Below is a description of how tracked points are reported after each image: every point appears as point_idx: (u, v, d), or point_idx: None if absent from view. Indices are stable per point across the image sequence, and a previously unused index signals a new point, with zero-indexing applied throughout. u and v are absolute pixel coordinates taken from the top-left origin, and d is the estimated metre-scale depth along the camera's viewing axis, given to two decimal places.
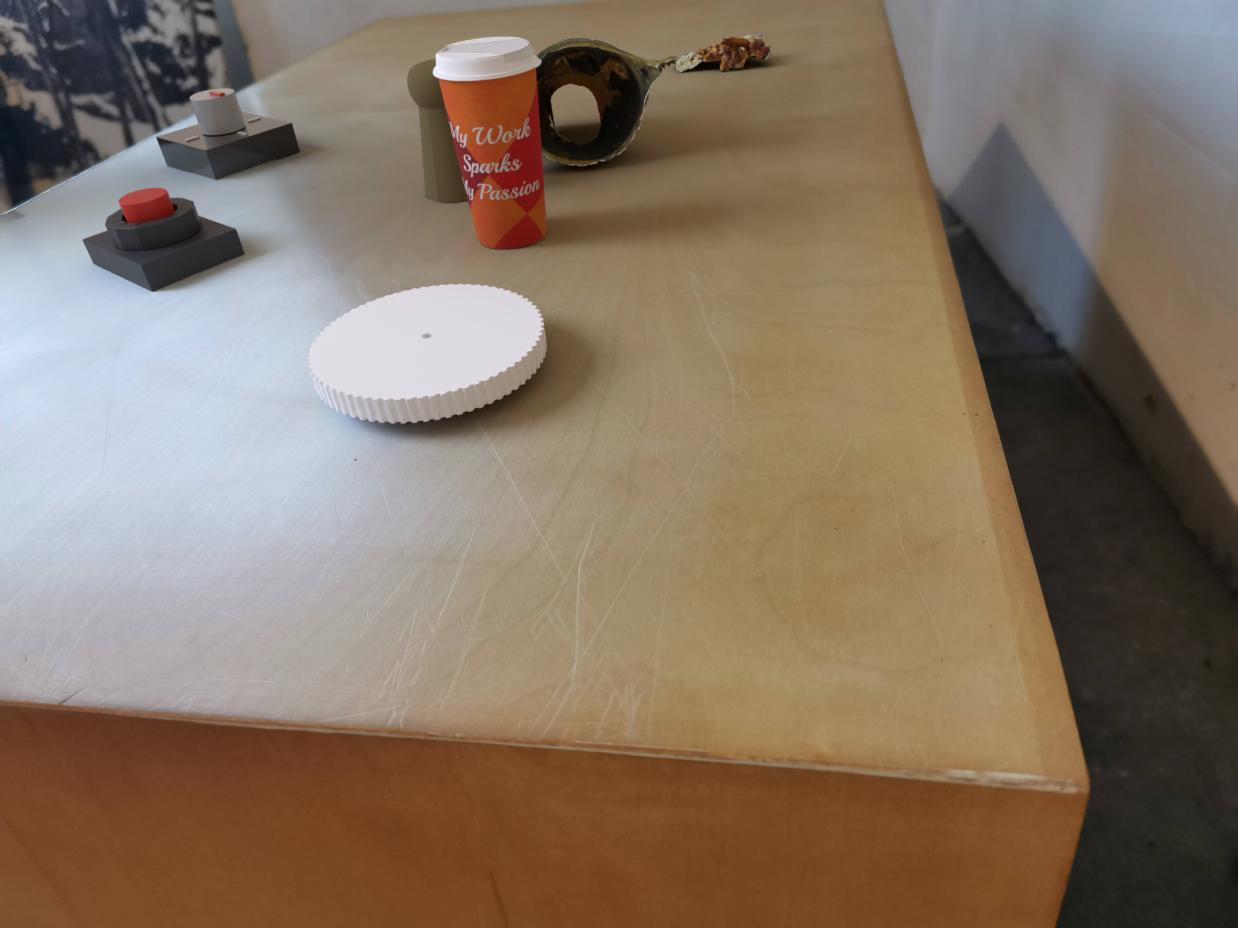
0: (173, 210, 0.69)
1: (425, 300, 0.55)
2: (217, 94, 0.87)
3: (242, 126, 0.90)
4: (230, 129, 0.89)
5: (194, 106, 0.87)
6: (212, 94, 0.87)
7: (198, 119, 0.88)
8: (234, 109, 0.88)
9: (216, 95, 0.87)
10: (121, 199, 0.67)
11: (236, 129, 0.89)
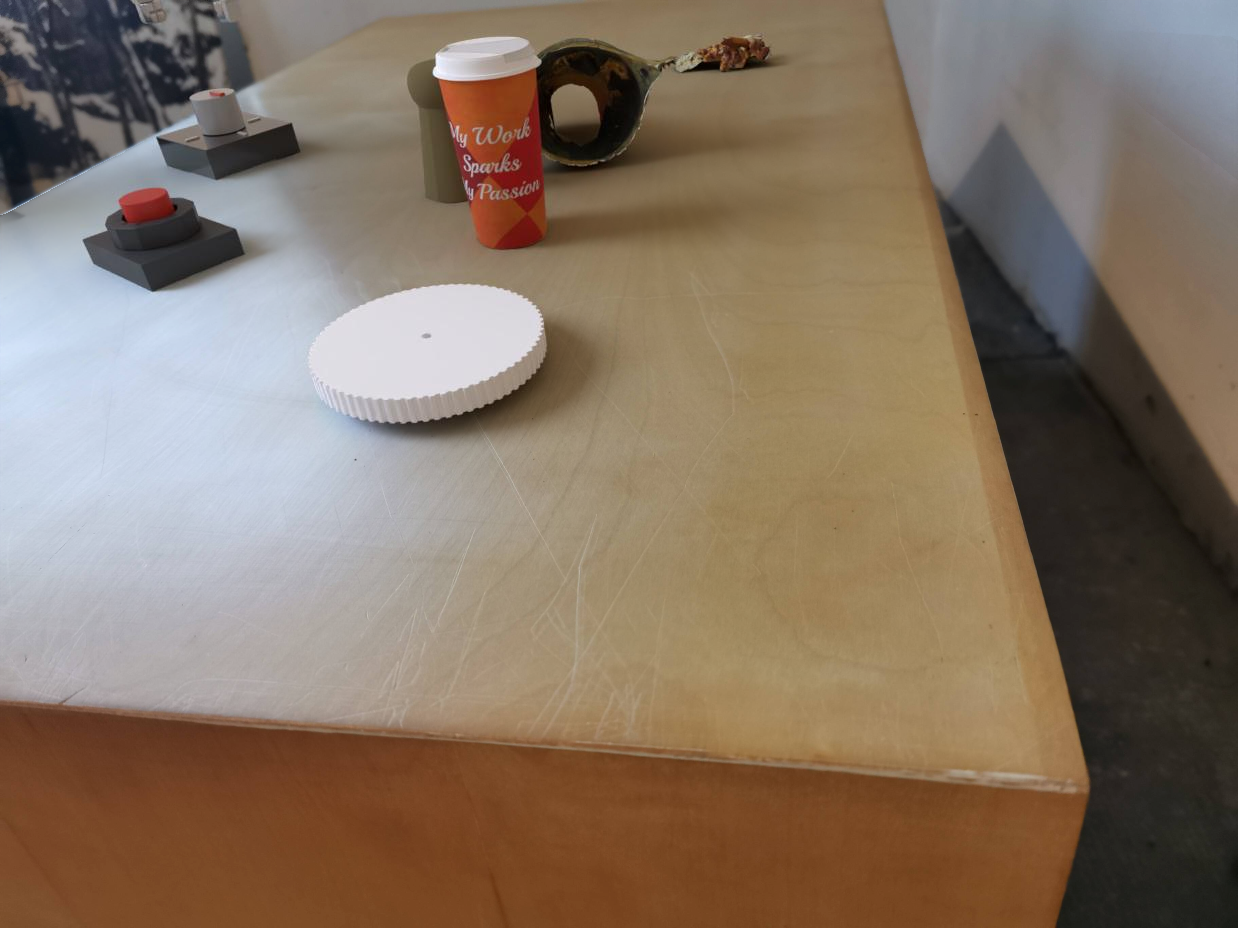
0: (173, 210, 0.69)
1: (425, 300, 0.55)
2: (217, 94, 0.87)
3: (242, 126, 0.90)
4: (230, 129, 0.89)
5: (194, 106, 0.87)
6: (212, 94, 0.87)
7: (198, 119, 0.88)
8: (234, 109, 0.88)
9: (216, 95, 0.87)
10: (121, 199, 0.67)
11: (236, 129, 0.89)
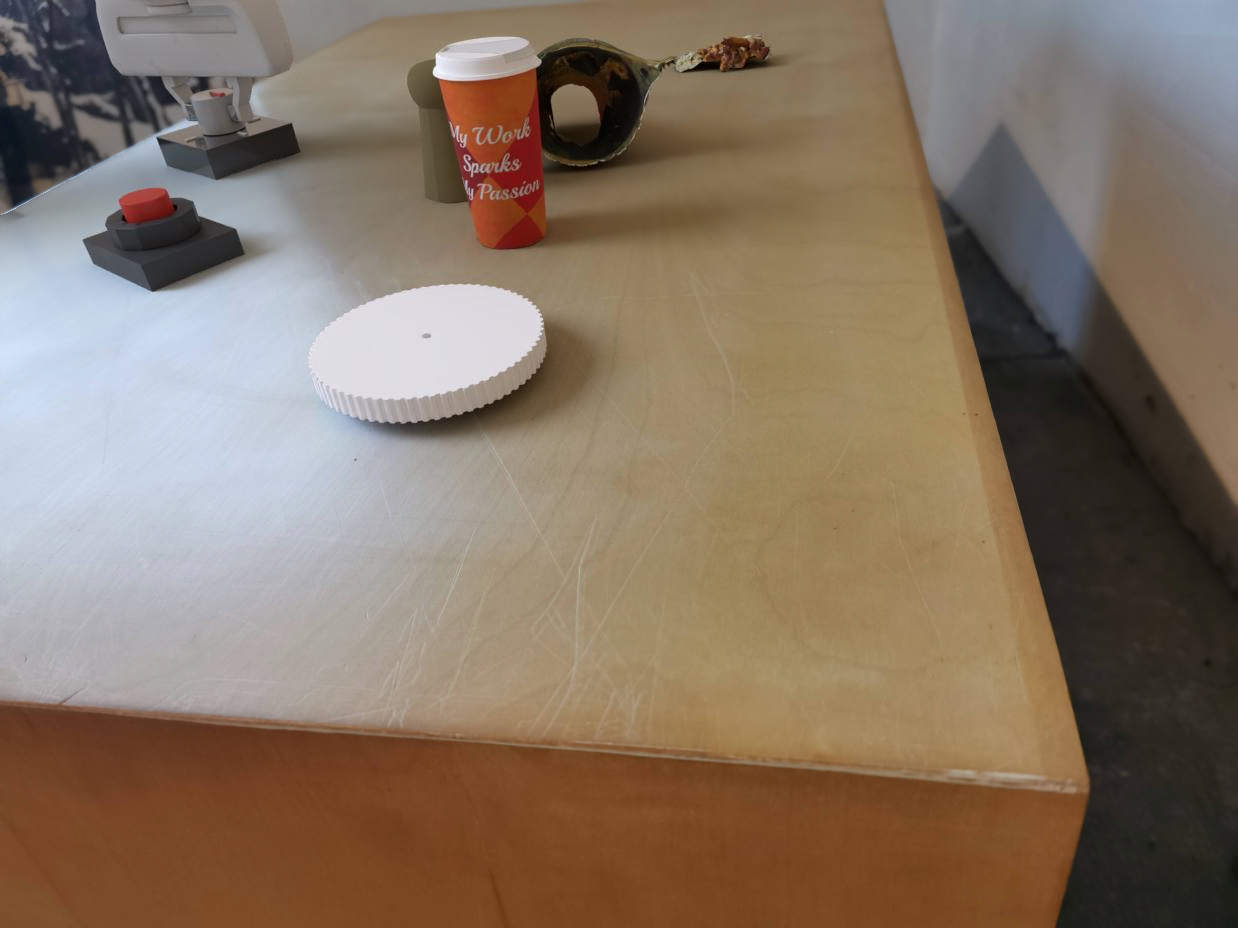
0: (173, 210, 0.69)
1: (425, 300, 0.55)
2: (217, 94, 0.87)
3: (242, 126, 0.90)
4: (230, 129, 0.89)
5: (194, 106, 0.87)
6: (212, 94, 0.87)
7: (198, 119, 0.88)
8: None
9: (216, 95, 0.87)
10: (121, 199, 0.67)
11: (236, 129, 0.89)
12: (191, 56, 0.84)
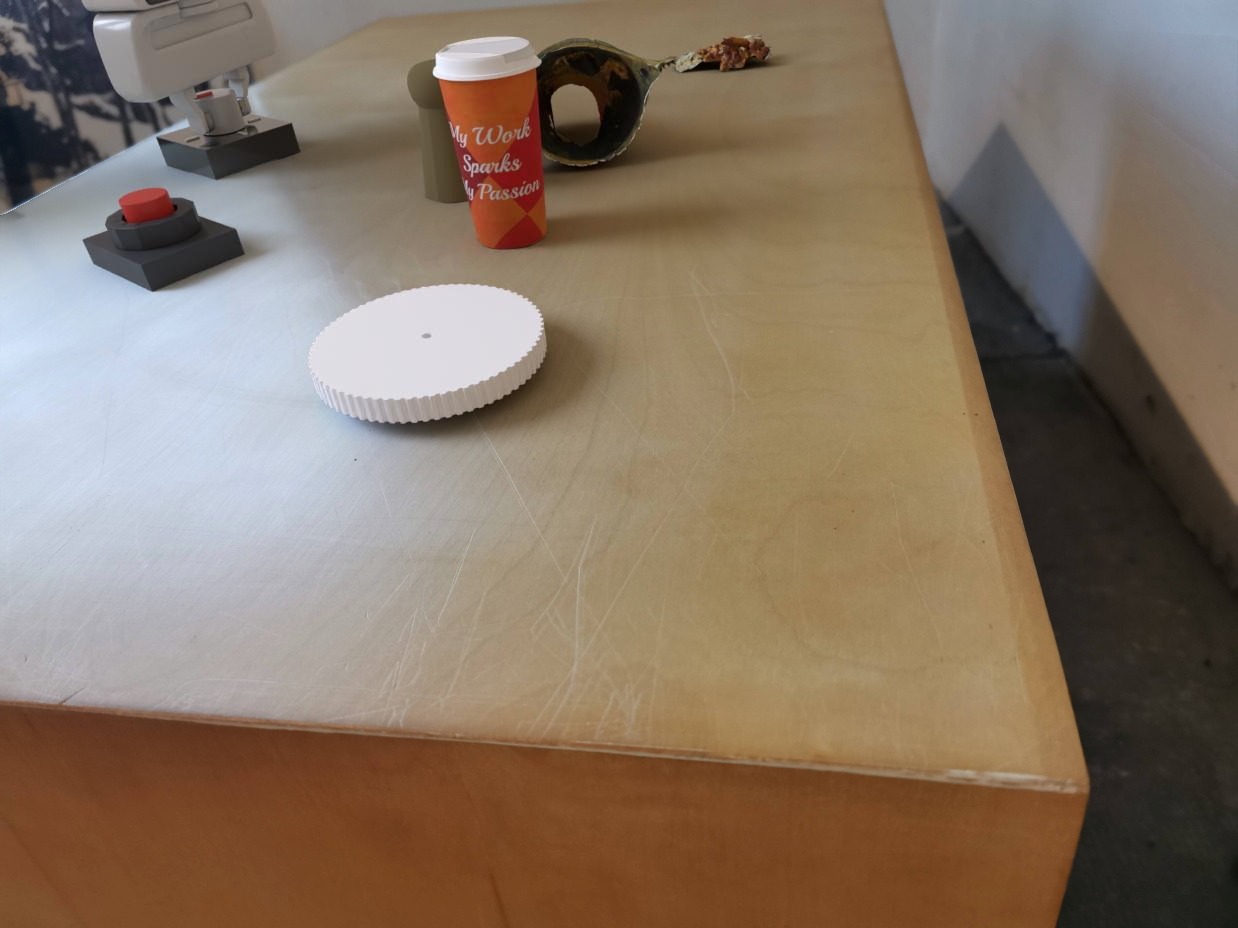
0: (173, 210, 0.69)
1: (425, 300, 0.55)
2: None
3: (212, 133, 0.88)
4: None
5: None
6: None
7: None
8: None
9: (197, 97, 0.87)
10: (121, 199, 0.67)
11: None
12: None
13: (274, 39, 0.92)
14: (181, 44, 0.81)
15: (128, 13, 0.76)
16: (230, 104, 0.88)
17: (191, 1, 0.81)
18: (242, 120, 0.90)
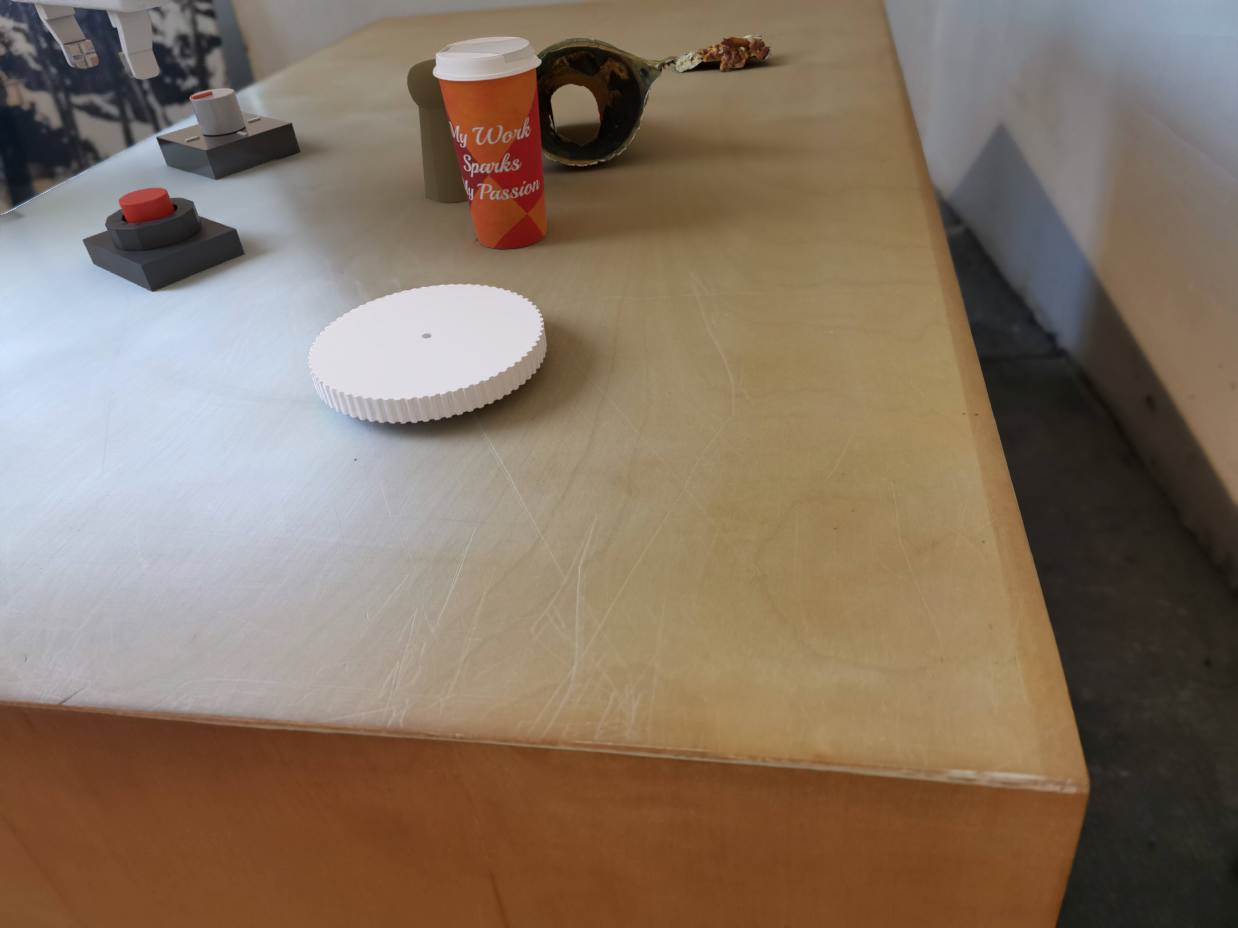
0: (173, 210, 0.69)
1: (425, 300, 0.55)
2: (193, 95, 0.87)
3: (212, 133, 0.88)
4: (201, 131, 0.89)
5: None
6: None
7: None
8: (202, 115, 0.87)
9: None
10: (121, 199, 0.67)
11: (205, 133, 0.89)
12: None
13: None
14: None
15: None
16: (230, 104, 0.88)
17: None
18: (242, 120, 0.90)
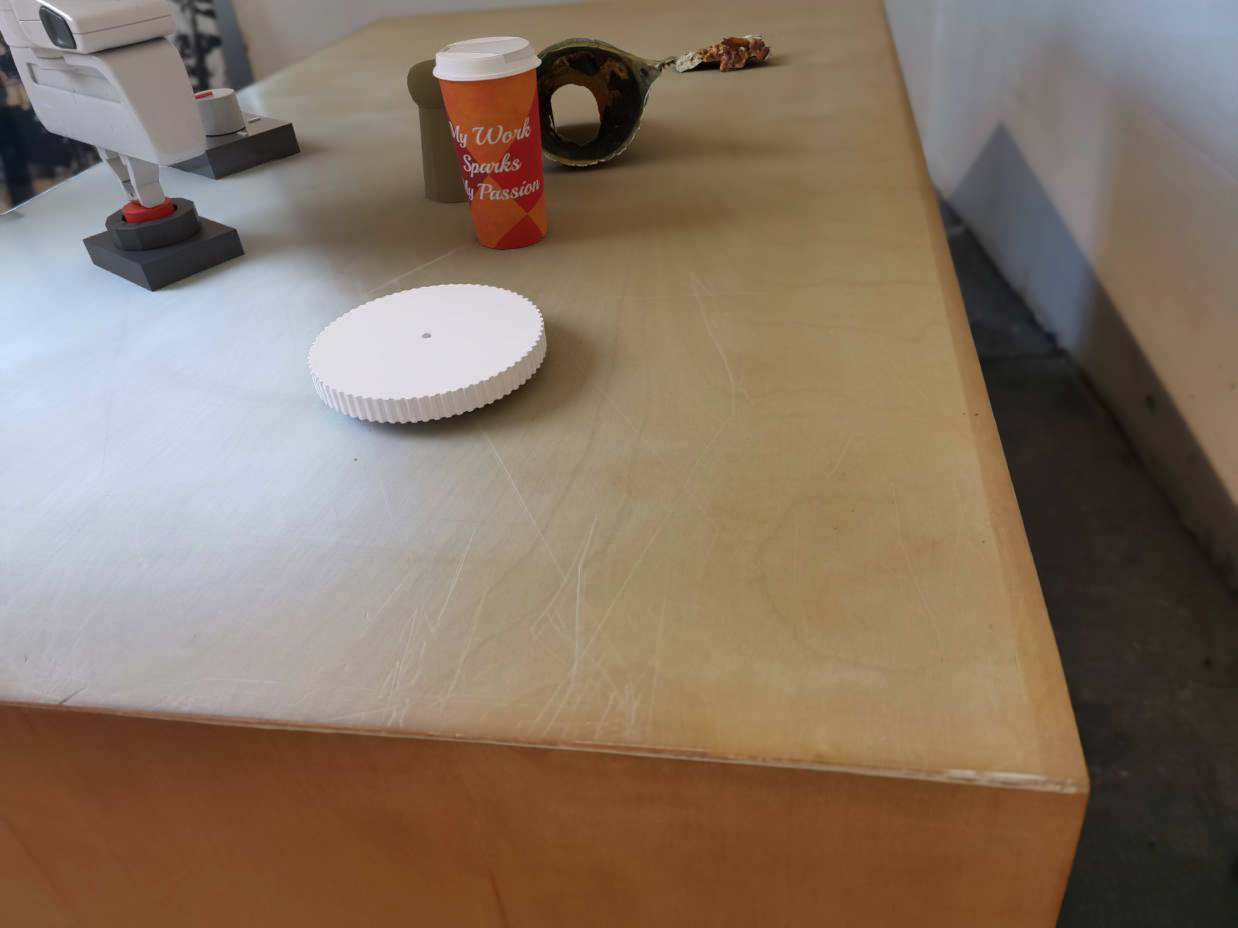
0: None
1: (425, 300, 0.55)
2: None
3: (212, 133, 0.88)
4: None
5: None
6: None
7: None
8: (202, 115, 0.87)
9: None
10: (125, 207, 0.67)
11: None
12: (92, 124, 0.62)
13: None
14: None
15: (153, 41, 0.57)
16: (230, 104, 0.88)
17: None
18: (242, 120, 0.90)
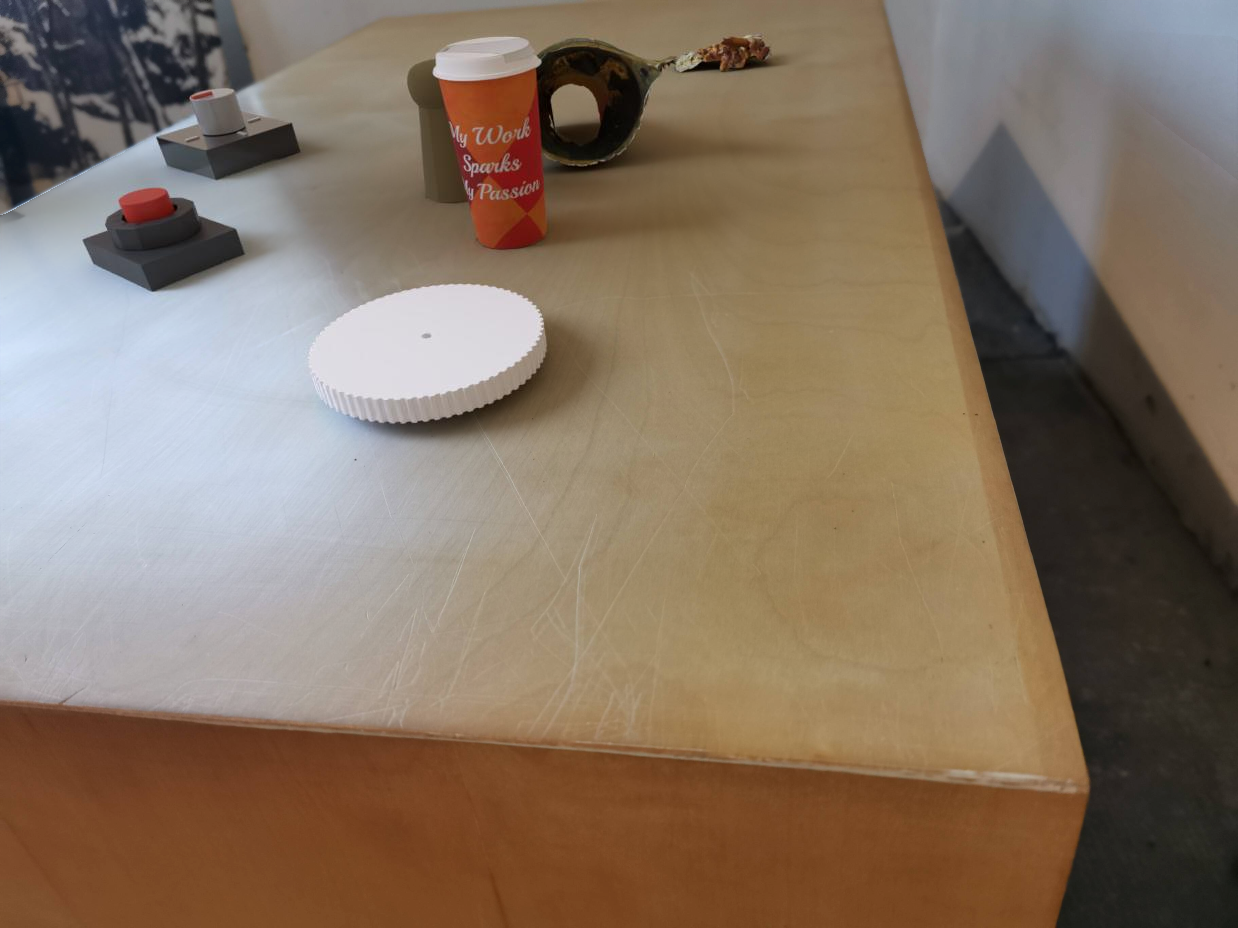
0: (173, 210, 0.69)
1: (425, 300, 0.55)
2: (193, 95, 0.87)
3: (212, 133, 0.88)
4: (201, 131, 0.89)
5: None
6: None
7: None
8: (202, 115, 0.87)
9: None
10: (121, 199, 0.67)
11: (205, 133, 0.89)
12: None
13: None
14: None
15: None
16: (230, 104, 0.88)
17: None
18: (242, 120, 0.90)
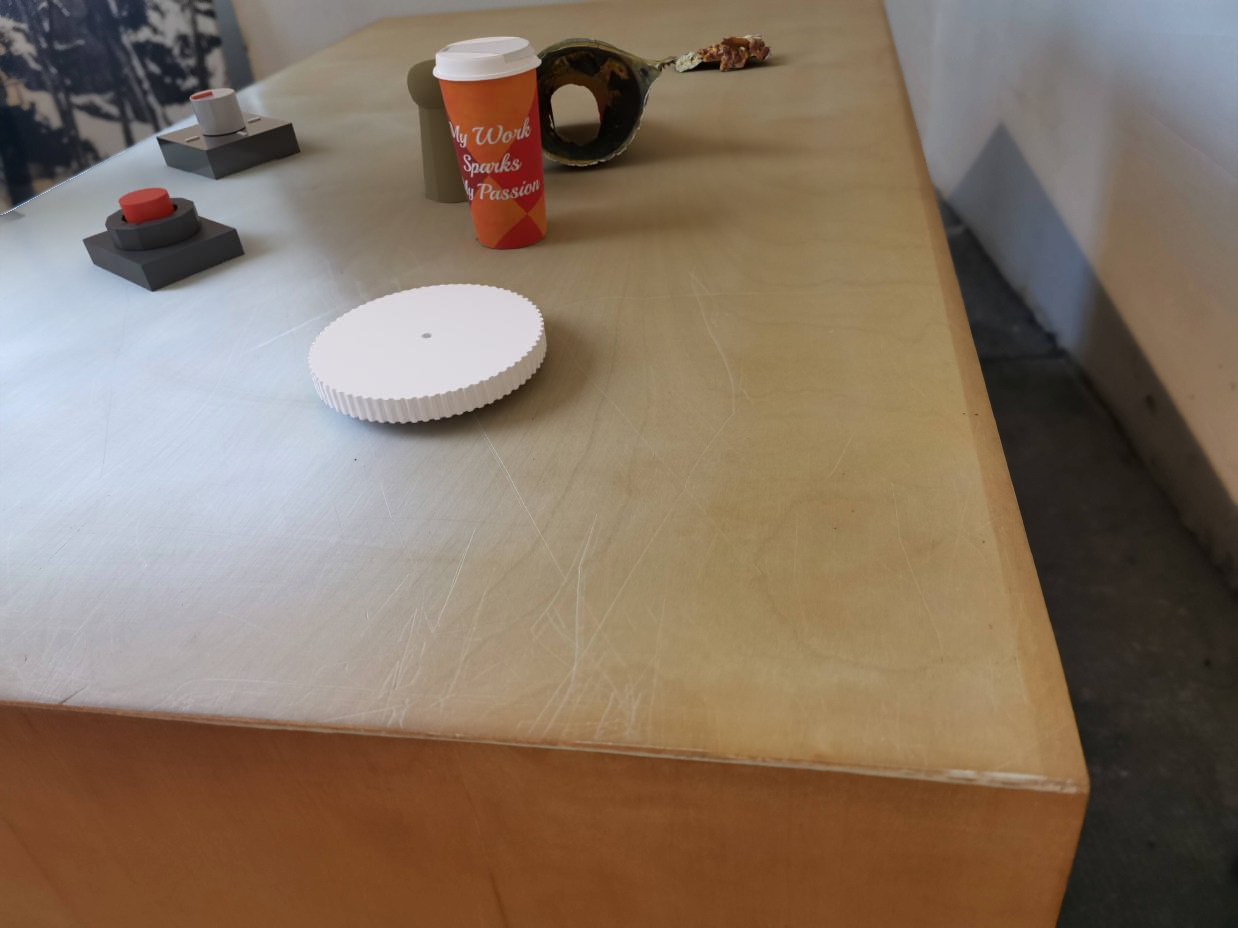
0: (173, 210, 0.69)
1: (425, 300, 0.55)
2: (193, 95, 0.87)
3: (212, 133, 0.88)
4: (201, 131, 0.89)
5: None
6: None
7: None
8: (202, 115, 0.87)
9: None
10: (121, 199, 0.67)
11: (205, 133, 0.89)
12: None
13: None
14: None
15: None
16: (230, 104, 0.88)
17: None
18: (242, 120, 0.90)
